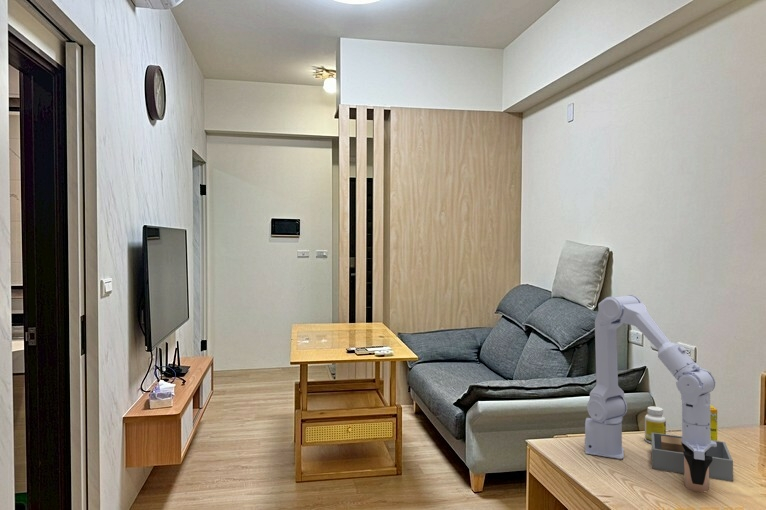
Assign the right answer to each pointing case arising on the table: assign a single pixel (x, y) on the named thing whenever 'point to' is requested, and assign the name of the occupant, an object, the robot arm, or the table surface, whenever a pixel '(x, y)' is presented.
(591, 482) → the table surface
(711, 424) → the supplement box
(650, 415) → the supplement bottle
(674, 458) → the tote
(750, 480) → the table surface
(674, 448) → the walnut cube
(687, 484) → the terracotta cylinder
